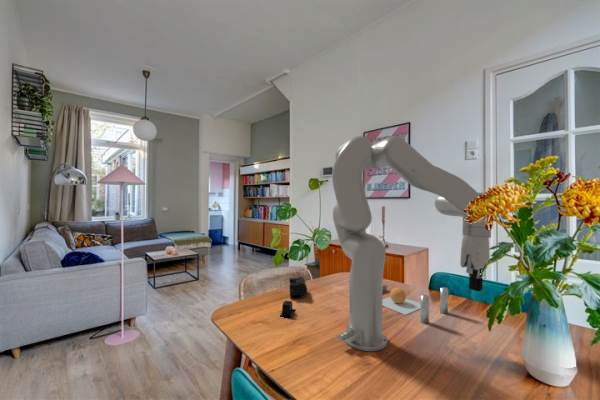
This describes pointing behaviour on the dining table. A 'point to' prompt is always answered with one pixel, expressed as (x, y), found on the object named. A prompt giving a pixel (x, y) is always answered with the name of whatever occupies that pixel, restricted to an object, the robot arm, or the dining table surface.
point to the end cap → (297, 288)
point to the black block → (287, 310)
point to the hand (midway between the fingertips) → (475, 289)
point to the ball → (398, 295)
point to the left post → (425, 309)
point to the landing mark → (401, 305)
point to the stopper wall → (384, 287)
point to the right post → (444, 300)
